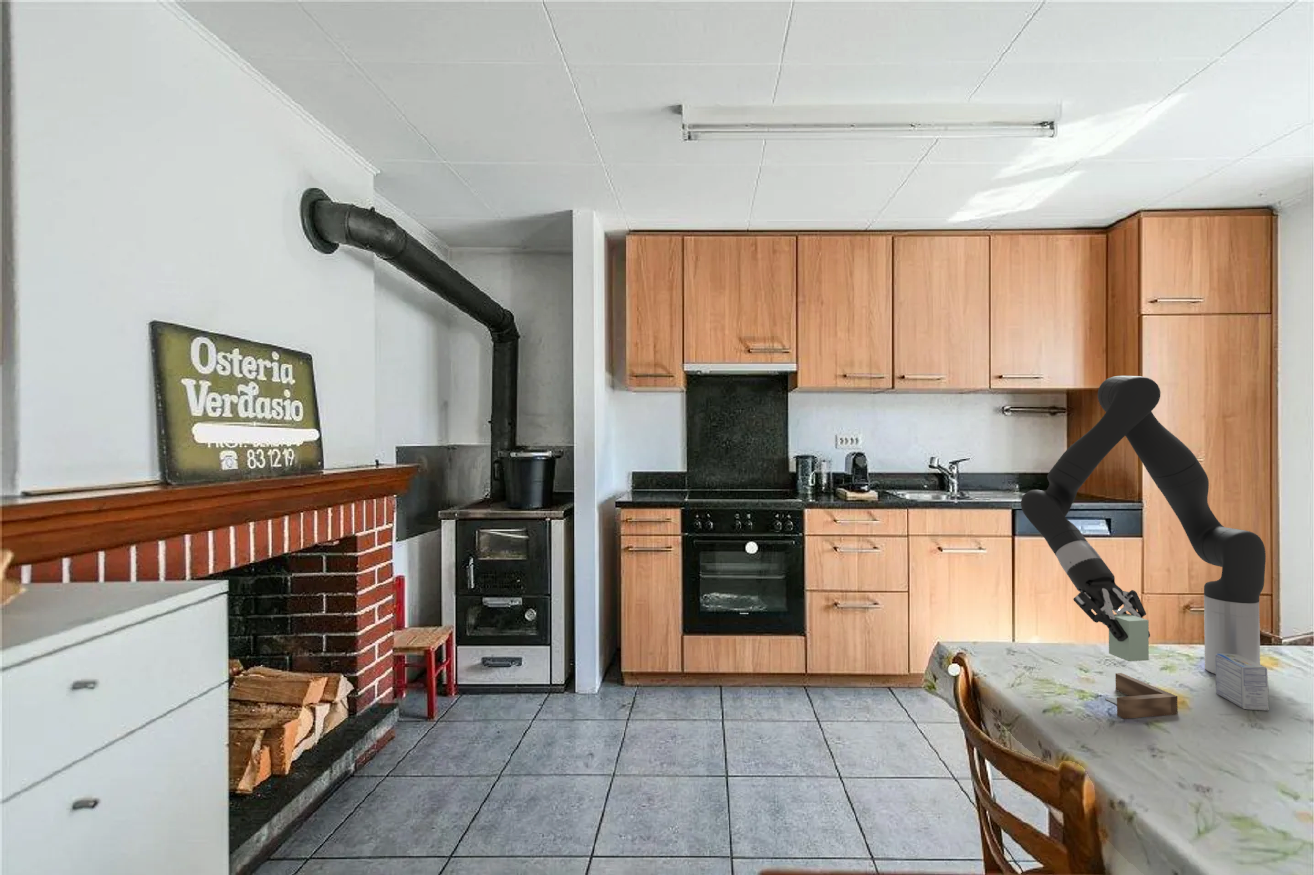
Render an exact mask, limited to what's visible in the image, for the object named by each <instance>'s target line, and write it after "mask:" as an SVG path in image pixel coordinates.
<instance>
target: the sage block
mask: <svg viewBox="0 0 1314 875" xmlns="http://www.w3.org/2000/svg"><path fill="white" fill-rule="evenodd" d="M1114 616H1115V619H1114V620H1117V621H1118V622H1119V624H1120V625H1121V626H1122V628H1123V629H1124V631H1125V632H1126V634H1127V635H1128V638H1127V639H1125V640H1124V641H1118V640H1117V639H1116V638H1115V637H1114V636H1113V635H1112V633H1111V632H1110V630H1109V629H1108V654H1110V655H1111V656H1114V657H1116V658H1119V659H1121V660H1124V661H1127V662H1143V661H1150V657H1149V654H1150V652H1149V647H1150V646H1149V643H1150V640H1149V638H1150V637H1149V633H1150V631H1149V629H1150V627H1149V621H1150V620H1149V619H1146V618H1143V617H1142V618H1140V617H1137V616H1133V615H1131V614H1130V613H1127V614H1116V613H1115V614H1114Z"/></svg>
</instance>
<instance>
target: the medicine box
mask: <svg viewBox="0 0 1314 875" xmlns="http://www.w3.org/2000/svg"><path fill="white" fill-rule="evenodd" d="M1215 666H1216V674H1215V692H1216V694H1217V695H1218V696H1221V697H1222V698H1224V699H1226V700H1228V701H1229V702H1231V703H1232V704H1235V705H1236V706H1238V707H1240V708H1241V709H1244V710H1251V711H1265V712H1267V711H1270V710H1269V709H1270V708H1269V684H1268V683H1269V682H1268V668H1267V667H1266V666H1264V665H1262V664H1261V663H1260V664H1258V663H1256V662H1254V661H1252V660H1249V659H1247V658H1245V657H1243V656H1240V655H1237V654H1215Z"/></svg>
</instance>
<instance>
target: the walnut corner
mask: <svg viewBox="0 0 1314 875" xmlns="http://www.w3.org/2000/svg"><path fill="white" fill-rule="evenodd" d="M1115 691H1117V692H1120V693H1122V694H1124V695H1126V696H1118V697H1111V698H1110V697H1109V698H1105V701H1107V702H1109V703H1111V704H1114V705H1115V706H1116V716H1118V717H1119V718H1122V719H1124V720H1125V719H1136V718H1137V719H1138V718H1149V717H1159V716H1161V717H1162V716H1172V715H1174V716H1175V715H1178V712H1179V711H1178V709H1179V708H1178V696H1177V695H1175V694H1174V693H1170V692H1168V691H1165V690H1164V689H1161V688H1158V687H1156V686H1154V685H1151V684H1149V683H1146V682H1144V681H1141V680H1139V679H1137V678H1135V677H1132V676H1130V675H1127V674H1125V673H1122V672H1119V673H1115Z"/></svg>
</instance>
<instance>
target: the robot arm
mask: <svg viewBox="0 0 1314 875" xmlns="http://www.w3.org/2000/svg"><path fill="white" fill-rule="evenodd" d="M1097 390H1098V391H1097V400H1098V402H1099V405H1100V407H1101V408H1102V410H1103V411H1104V412H1105V413H1104V415H1103V416H1102V417H1101V418H1100V420H1099V421H1098V422H1097V423H1096V424H1095V425H1093V427H1092V428H1091V429H1090V430H1089V431H1087V432H1086V433H1085V434H1084V435H1083V436H1082V437H1081V436H1080V437H1079V439H1078V440H1076V441H1075V442H1074V443H1073V444H1071V445H1070V446H1069V447H1068V448H1067V449H1065V451H1064V452H1063V454H1061V456H1059V458H1058V460H1057V461H1056V463H1055V464H1054V465H1053V467H1051V469H1050V470H1049V472H1048V474H1047V480H1048V482H1049V483H1048V484H1049V485H1048V487H1047V488H1046V491H1044V490H1040V489H1031V490H1029V491H1027V492H1026V493H1024V494H1023V496H1022V497H1021V500H1020V508H1021V511H1022V513H1023V514H1024V516H1025V517H1026V518H1027V519H1028V521H1029V522H1030V524H1032V526H1034V529H1036V530H1037V531H1038V532H1039V534H1040V535H1041V536H1042V537H1043V538H1044V540H1045V541H1046V543H1047V545H1048V546H1049V548H1050V549H1051V551H1052V552H1053V554H1054V555H1055V557H1056V558H1057V560H1058V562H1059V565H1060V566H1061V568H1062V570H1063V571H1064V572H1065V573H1066V575H1067V576H1068V578H1069V580H1070V582H1072V584H1073V585H1074V587H1075V588H1076V590H1077V591H1078V592H1079V593H1078V594H1077V595H1076V596H1075V597H1073V598H1072V600H1073V602H1075V604H1076V605H1078V607H1079V608H1080V609H1081V610H1082V611H1083V612H1084V614H1086V615H1087V617H1089V618H1090V619H1091V620H1092V621H1093V622H1094V623H1095V624H1097V623H1102V625H1104V626H1106V627H1107V629H1108V631H1109V630H1110V632H1111V633H1112V635H1113V636H1114V637H1115V638H1116V639H1117V640H1118V641H1124V640H1125V639H1127V638H1128V635H1127V634H1126V632H1125V631H1124V629H1123V628H1122V626H1121V625H1120V624H1119V622H1118V621H1117V620H1114V619H1115V616H1114V613H1115V614H1130V615H1133V616H1137V617H1140V618H1143V617H1145V616H1146V615H1147V613H1146V610H1145V608H1144V606H1143V604H1142V601H1141V599H1140V596H1139V595H1138V592H1137V591H1136V590H1135V589H1134V590H1133V589H1131V590H1130V591H1125V590H1123V589H1122V588H1121V587H1120V586H1118V585H1117V584H1116V580H1115V575H1114V573H1113V571H1112V570H1110V568H1109V566H1108V565H1107V563H1105V561H1104V559H1103V558H1102V557H1101V555H1100V554H1099V553H1098V551H1097V550H1095V548H1094V547H1093V546H1092V545H1091V544H1090V543H1089V542H1088V540H1087V539H1086V538H1085V536H1084V535H1083V533H1082V532H1081V531H1080V530H1079V528H1078V527H1077V526H1076V525H1075V524H1074V523H1072V522H1071V521H1070V520H1068V518H1067V517H1066V516H1067V514H1068V513H1069V512H1070V510H1071V508H1072V505H1073V503H1074V501H1075V498H1076V497H1077V493H1078V491H1079V489H1080V488H1081V487H1082V486H1083V485H1084V483H1086V480H1088V478H1089V477H1090V475H1092V473H1093V472H1094V470H1095V469H1096V468H1097V467H1098V465H1099V464H1100V463H1101V462H1102V461H1103V460H1104V458H1105V457H1106V456H1107V455H1108V454H1109V452H1110V451H1112V449H1113V448H1114V447H1115V446H1117V444H1118V443H1120V441H1121V440H1122V439H1123V438H1126V439H1127V440H1128V442H1129V444H1130V446H1131V448H1132V449H1133V450H1134V453H1135V454H1136V456H1137V457H1138V458H1139V460H1140V461H1141V463H1142V465H1143V466H1144V468H1145V469H1146V472H1147V473H1148V475H1149V476H1150V478H1151V479H1152V480H1153V482H1154V483H1155V485H1156V487H1157V488H1158V489H1159V491H1160V492H1161V493H1162V495H1163V496H1164V498H1165V499H1166V501H1167V504H1169V506H1170V508H1171V509H1172V511H1173V512H1174V514H1175V516H1176V517H1177V519H1178V520H1179V522H1180V524H1181V527H1182V528H1183V530H1184V533H1185V535H1186V536H1187V538H1188V541H1189V543H1190V544H1191V546H1192V549H1193V550H1194V552H1195V553H1196V555H1197V556H1198V557H1199V558H1200V559H1201V560H1203V561H1204V562H1206V564H1209V565H1212V566H1215V567H1220V568H1221V576H1220V577H1219V579H1218V580H1213V581H1207V582H1205V584H1204V586H1203V608H1204V609H1203V611H1204V614H1203V615H1204V616H1203V618H1204V620H1203V623H1204V624H1203V625H1204V630H1203V631H1204V669H1205V670H1206V671H1207V672H1209V673H1212V674H1214V675H1216V666H1215V654H1237V655H1240V656H1243V657H1245V658H1247V659H1249V660H1252V661H1254V662H1256V663H1258V664H1260V665H1261V638H1260V636H1261V632H1260V631H1261V628H1260V627H1261V626H1260V625H1261V623H1260V621H1261V620H1260V618H1261V617H1260V596H1261V593H1262V591H1263V589H1264V586H1265V574H1266V557H1267V556H1266V553H1267V552H1266V546H1265V544H1264V542H1263V539H1262V538H1261V537H1260V536H1259V535H1258V534H1256V533H1255V532H1252V531H1250V530H1249V531H1248V530H1244V529H1239V528H1231V527H1225V526H1224V525H1223V524H1222V523H1221V522H1220V521H1219V520H1218V519H1217V517H1216V516H1215V514H1214V513H1213V511H1212V510H1211V508H1210V506H1209V502H1208V498H1209V488H1210V486H1209V485H1210V483H1209V477H1208V475H1207V473H1206V471H1205V469H1204V468H1203V466H1202V465H1201V463H1200V461H1199V459H1198V458H1197V457H1196V455H1195V454H1194V453H1193V451H1192V450H1191V449H1190V448H1189V447H1188V446H1187V445H1185V443H1183V441H1181V440H1180V439H1179V437H1177V436H1175V435H1174V434H1173V433H1172V432H1171V431H1169V430H1168V429H1167V428H1166V427H1165V426H1164V425H1162V423H1161V422H1160V421H1159V420H1158V419H1157V418H1156V416H1155V415H1154V414H1153V410H1154V409H1155V408H1156V407H1157V405H1158V404H1159V402H1160V399H1161V388H1160V387H1159V384H1157V383H1156V381H1155V380H1153V379H1151V378H1149V377H1146V376H1140V375H1116V376H1112V377H1108V378H1106V379H1105V380H1104V381H1102V382H1101V384H1100V385H1099V387H1098V389H1097ZM1122 606H1123V607H1122ZM1121 607H1122V608H1121ZM1094 612H1095V613H1094ZM1127 612H1128V613H1127ZM1150 637H1151V634H1150V632H1149V638H1150Z"/></svg>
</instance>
